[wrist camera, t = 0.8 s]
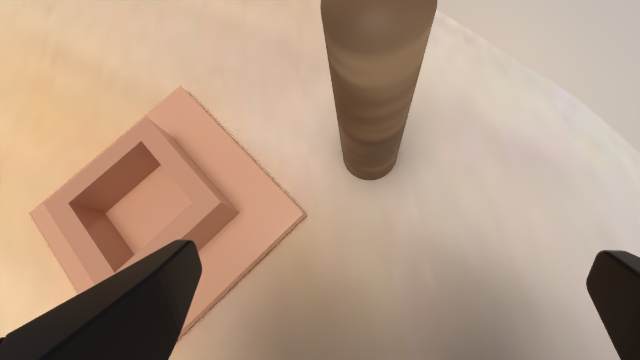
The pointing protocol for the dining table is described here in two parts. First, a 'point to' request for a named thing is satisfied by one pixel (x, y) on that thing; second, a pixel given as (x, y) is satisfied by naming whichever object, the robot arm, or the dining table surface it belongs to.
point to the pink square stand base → (168, 204)
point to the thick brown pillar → (374, 74)
